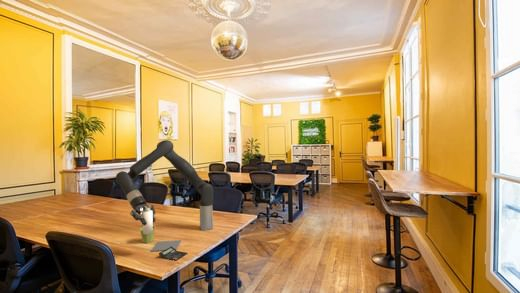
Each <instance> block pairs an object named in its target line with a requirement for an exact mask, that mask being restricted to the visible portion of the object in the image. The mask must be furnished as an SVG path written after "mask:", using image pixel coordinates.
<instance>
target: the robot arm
mask: <svg viewBox="0 0 520 293" xmlns="http://www.w3.org/2000/svg"><path fill="white" fill-rule="evenodd" d="M162 157H164V158H165V159H166V160H167V161H168V162H169V163H170V164H171V165H172V166H173V167H174V168H175V169H176V171H178V172H179V174H181V176H182V177H184V179H186V180H187V181H188V182H189V183H190V184H192V186H193V187H194V188H195V189H196V190H197V192H198V194H200V201H199V229H200V231H210V230H213V228H214V214H213V203H214V187H213V185H212V184H210V183H207V182H206V181H205V180H203V179H202V178H201V177H200V176H199V174H198V173H197V171H196V169H195V168H194V167H193V165H192V164H190V162H189V161H187V160H186V159H185V158H183V157H182V156H180V155H179V154H177V152H176V151H175V150H174V143H173V142H172V141H171V140H168V139H165V140H162V141H159V142H158V143H157V145H156V148H155V149H154V150H152V151H151V152H150V153H148V154H147V155H145V156H143V157H142V158H140V159H139V160H138V161H136V162H135V163H134V164H132V165H130V167H129V171H128V172H126V171H124V170H123V171H122V170H121V171H119V172H118V173H117V174H116V176H115V180H116V182H117V183H118V185H119V186H120V187H121V189H122V190H123V193H124V195H125V197H126V199H127V201H128V203H129V205H130V207H131V208H132V209H131V211H130V212H129V214H130V216H131V217H132V218H133V219H134V220H135V221H136V222H137V221H140V222H141V225H142V226H143V225H146V224H147V222H146V220H145V219H144V218H143V211H145V208H150V210H152V212H153V224H155V222H156V220H157V219H156V217H155V215H156V210H155V206H154V205H153V204H151V205H148V204H147V200H146V199H145V198H144V196H143V194H142V193H141V192H140V190H139V189H138V187H137V186H136V184H135V183H134V181H135V180H136V179H137V178H138V176H139V175H140V174H141V173H143V172H144V171H145V170H147V169H148V168H150V167H151V166H152V165H153V164H154V163H155V162H157V161H159V160H160V159H161V158H162Z"/></svg>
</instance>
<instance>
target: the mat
mask: <svg viewBox="0 0 520 293" xmlns="http://www.w3.org/2000/svg"><path fill="white" fill-rule="evenodd" d="M181 242H182V240H181V239H180V240H179V239H178V240H162V241H161V240H160V241H157V242H156V243H155V245H154V247H152V249H151V250H150V253H154V252H155V253H156V252H162V251H164V250H166V249H168V248H169V247H171V246H172V247H173V248H174V249H175V250H176V251H177V249H178V247H179V246H180V244H181Z"/></svg>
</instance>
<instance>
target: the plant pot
mask: <svg viewBox="0 0 520 293" xmlns="http://www.w3.org/2000/svg"><path fill="white" fill-rule="evenodd" d="M156 228H157V227H156V226H155V225H153V233H150V234H143V226H142V227H140V228H139V231H140V233H141V240H142V243H143V244H149V243H152V242H154V237H155V236H154V235H155V230H156Z"/></svg>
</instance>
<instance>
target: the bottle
mask: <svg viewBox="0 0 520 293" xmlns="http://www.w3.org/2000/svg"><path fill="white" fill-rule="evenodd" d="M143 218H144V219H145V220H146V222H147V224H146V225H143V224H142V227H143V234H150V233H153V226H154V223H153V212H152V210H150V208H145V211H143Z"/></svg>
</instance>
